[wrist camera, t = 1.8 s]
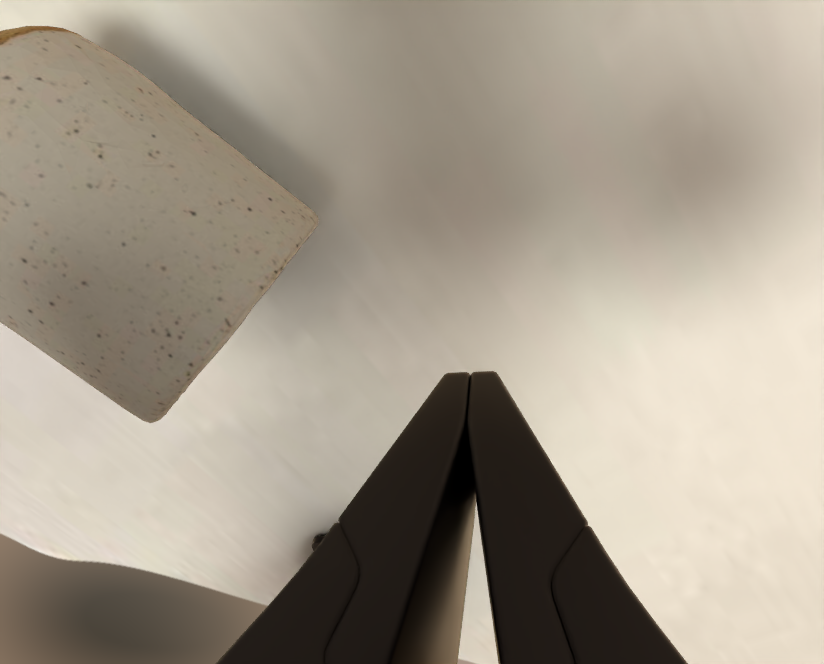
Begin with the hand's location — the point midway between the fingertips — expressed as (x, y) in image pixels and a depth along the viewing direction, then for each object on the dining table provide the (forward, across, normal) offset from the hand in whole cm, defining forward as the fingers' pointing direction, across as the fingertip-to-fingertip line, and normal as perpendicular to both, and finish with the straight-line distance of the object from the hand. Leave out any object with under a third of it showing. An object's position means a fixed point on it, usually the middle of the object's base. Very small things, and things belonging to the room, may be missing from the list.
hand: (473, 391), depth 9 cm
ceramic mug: (+10, +10, 0) cm, 14 cm away
